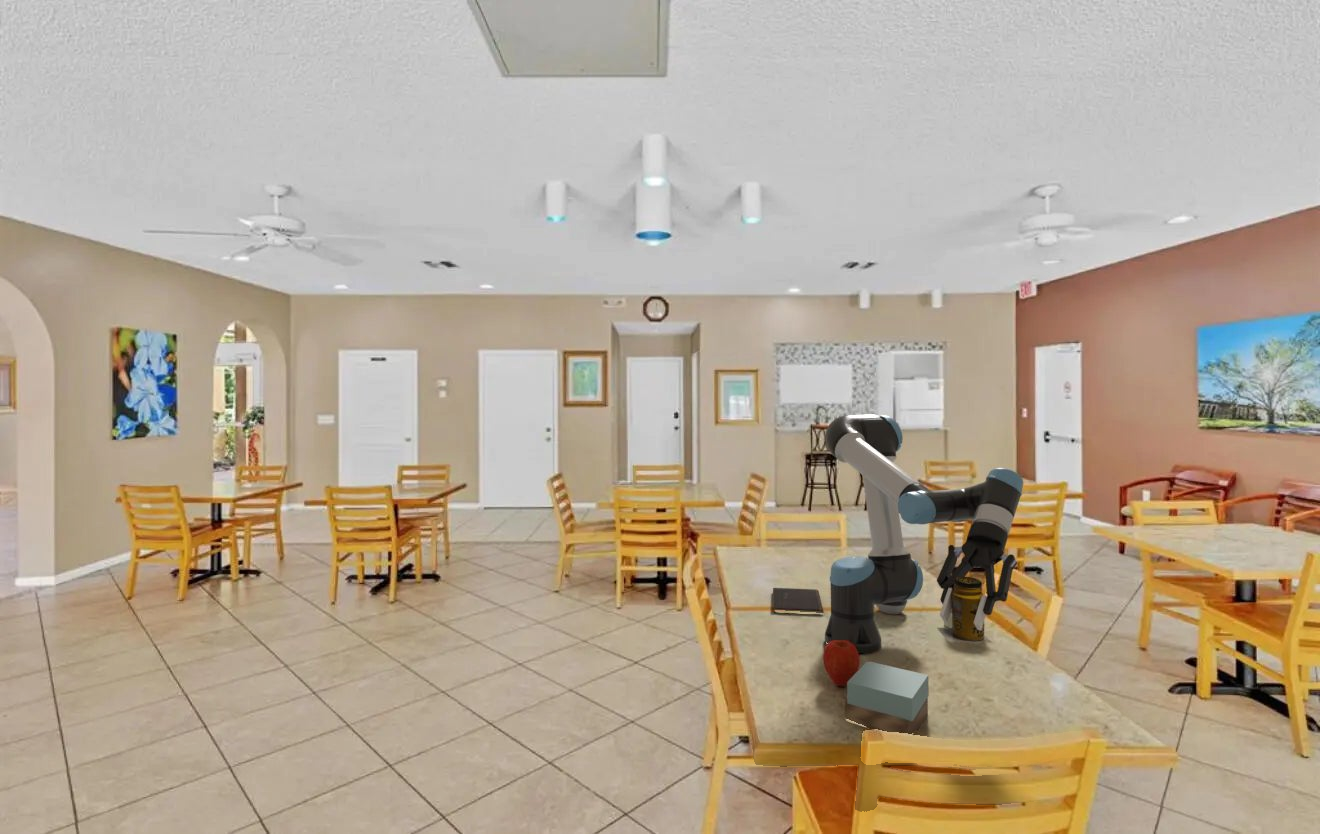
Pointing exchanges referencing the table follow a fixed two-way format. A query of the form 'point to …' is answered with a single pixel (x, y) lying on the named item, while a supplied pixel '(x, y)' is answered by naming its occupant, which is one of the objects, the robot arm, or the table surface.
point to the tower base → (885, 719)
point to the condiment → (965, 612)
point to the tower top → (888, 690)
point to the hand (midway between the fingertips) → (960, 622)
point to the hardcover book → (797, 600)
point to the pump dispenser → (892, 607)
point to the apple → (841, 661)
